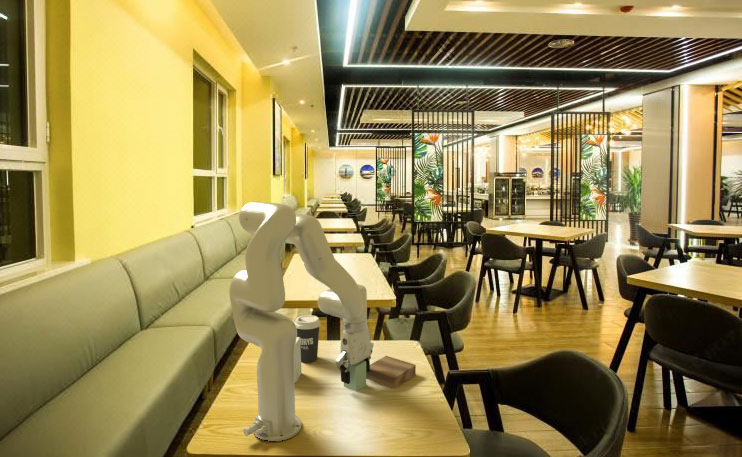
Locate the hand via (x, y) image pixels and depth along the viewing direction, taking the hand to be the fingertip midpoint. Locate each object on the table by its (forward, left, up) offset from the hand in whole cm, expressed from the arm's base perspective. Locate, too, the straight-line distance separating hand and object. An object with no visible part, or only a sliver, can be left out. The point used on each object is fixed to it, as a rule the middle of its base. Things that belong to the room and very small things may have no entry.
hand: (355, 376), depth 150 cm
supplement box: (-9, +21, -3) cm, 23 cm away
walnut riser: (+12, -5, -3) cm, 13 cm away
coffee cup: (+5, +26, -3) cm, 27 cm away
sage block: (0, 0, -3) cm, 3 cm away
